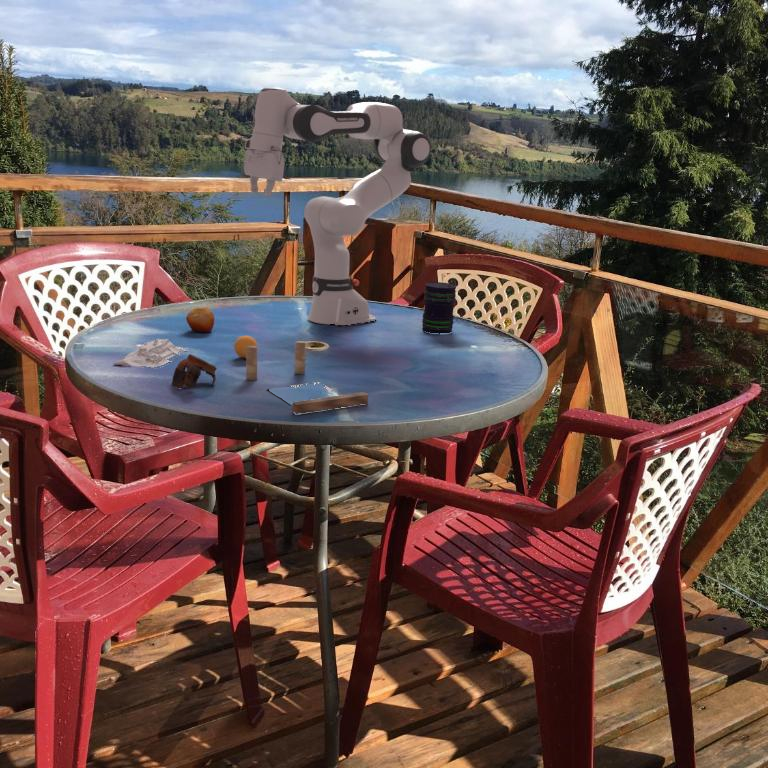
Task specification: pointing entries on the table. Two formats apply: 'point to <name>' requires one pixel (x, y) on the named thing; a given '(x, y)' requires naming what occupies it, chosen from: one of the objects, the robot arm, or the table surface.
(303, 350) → the post
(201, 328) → the fruit
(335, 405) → the stopper wall
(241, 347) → the ball
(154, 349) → the terrain model
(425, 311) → the storage jar
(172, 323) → the table surface
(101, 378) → the table surface
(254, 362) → the post
